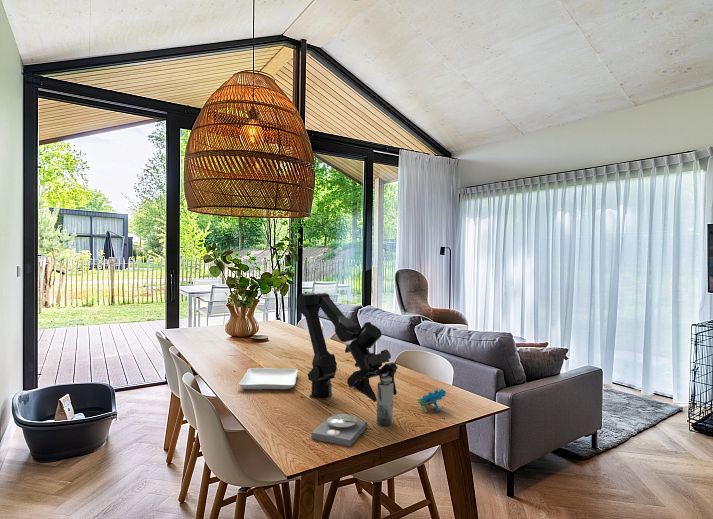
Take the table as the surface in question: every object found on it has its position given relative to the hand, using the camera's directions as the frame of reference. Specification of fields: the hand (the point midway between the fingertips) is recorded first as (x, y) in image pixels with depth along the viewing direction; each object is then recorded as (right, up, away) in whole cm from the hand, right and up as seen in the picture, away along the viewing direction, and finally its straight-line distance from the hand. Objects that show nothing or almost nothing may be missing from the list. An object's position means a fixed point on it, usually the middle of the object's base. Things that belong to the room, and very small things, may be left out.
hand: (386, 397), depth 137 cm
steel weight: (0, -8, 0) cm, 8 cm away
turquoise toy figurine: (+17, -9, +14) cm, 23 cm away
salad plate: (-44, -7, +37) cm, 58 cm away
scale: (-14, -8, -8) cm, 18 cm away
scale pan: (-14, -5, -6) cm, 16 cm away
